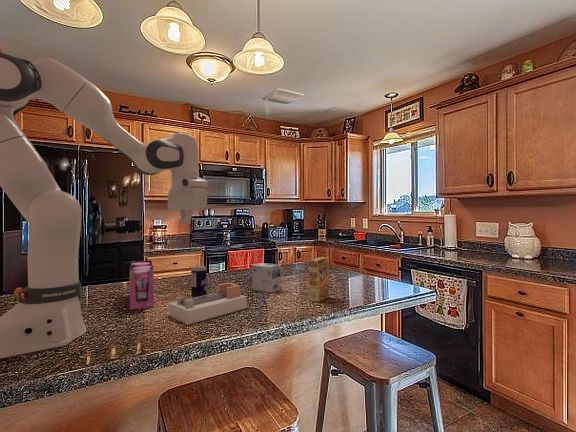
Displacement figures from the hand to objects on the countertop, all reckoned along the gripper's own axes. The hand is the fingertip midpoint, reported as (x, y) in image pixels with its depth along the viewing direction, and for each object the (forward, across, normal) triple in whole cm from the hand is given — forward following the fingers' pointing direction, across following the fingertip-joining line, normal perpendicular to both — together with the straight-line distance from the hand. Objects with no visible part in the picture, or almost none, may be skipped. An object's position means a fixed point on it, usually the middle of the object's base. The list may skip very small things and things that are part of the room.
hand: (186, 224), depth 110 cm
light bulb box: (+29, -1, +37) cm, 47 cm away
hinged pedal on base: (+29, +7, +4) cm, 30 cm away
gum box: (+29, -24, -6) cm, 38 cm away
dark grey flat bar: (+25, +7, +3) cm, 26 cm away
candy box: (+29, +24, +41) cm, 56 cm away
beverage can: (+29, -11, +11) cm, 33 cm away
